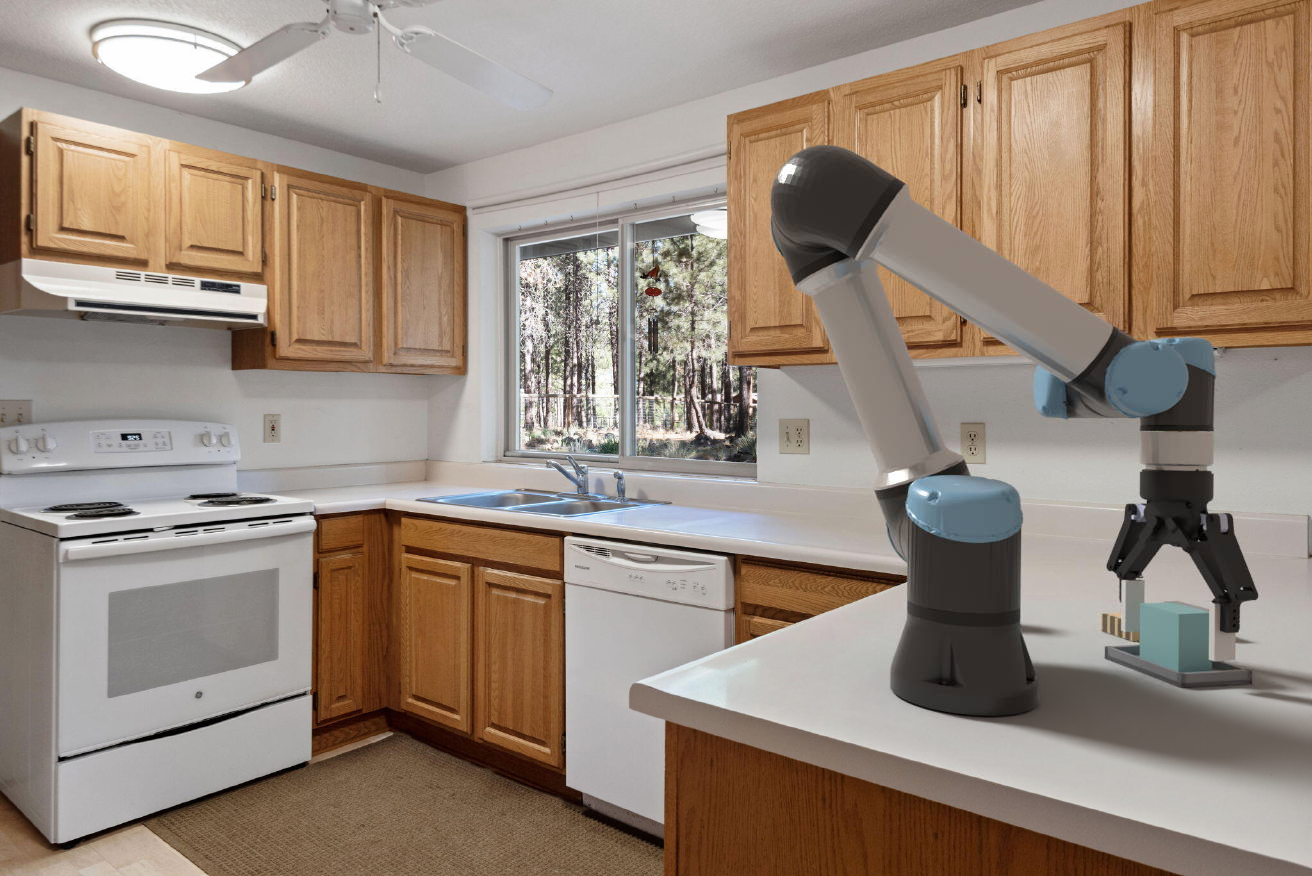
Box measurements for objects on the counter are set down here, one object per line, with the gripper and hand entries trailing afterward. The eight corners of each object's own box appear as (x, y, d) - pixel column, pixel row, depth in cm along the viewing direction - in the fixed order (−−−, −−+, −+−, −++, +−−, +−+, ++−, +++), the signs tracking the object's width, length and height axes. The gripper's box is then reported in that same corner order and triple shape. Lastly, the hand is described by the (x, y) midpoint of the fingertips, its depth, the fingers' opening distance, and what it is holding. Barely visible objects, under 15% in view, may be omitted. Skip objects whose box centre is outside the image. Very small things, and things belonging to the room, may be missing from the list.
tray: (1181, 687, 93) (1181, 674, 93) (1104, 658, 105) (1104, 646, 105) (1252, 683, 94) (1252, 670, 94) (1168, 654, 106) (1168, 643, 106)
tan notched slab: (1136, 642, 112) (1136, 615, 112) (1097, 629, 120) (1097, 603, 120) (1225, 638, 115) (1226, 611, 115) (1182, 625, 122) (1182, 600, 122)
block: (1178, 674, 96) (1178, 614, 96) (1139, 660, 102) (1140, 603, 102) (1211, 672, 97) (1212, 612, 97) (1171, 658, 103) (1172, 602, 103)
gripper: (1300, 473, 88) (1297, 673, 88) (1127, 463, 112) (1126, 619, 112) (1238, 473, 86) (1236, 676, 86) (1078, 463, 111) (1076, 621, 111)
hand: (1174, 644), depth 99 cm, fingers open, 13 cm apart
